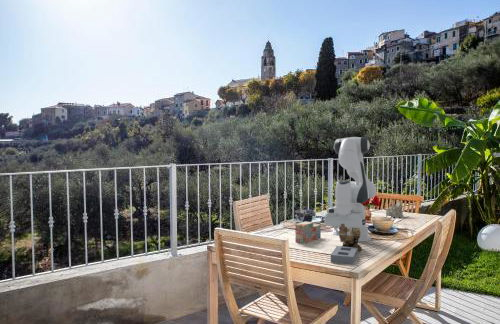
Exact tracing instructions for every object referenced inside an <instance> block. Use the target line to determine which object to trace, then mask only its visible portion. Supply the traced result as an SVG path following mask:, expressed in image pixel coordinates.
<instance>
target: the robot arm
mask: <svg viewBox="0 0 500 324" xmlns="http://www.w3.org/2000/svg"><path fill="white" fill-rule="evenodd" d="M370 147H371V145H370V141H369V138H367V137H366V136H361V137H359V136H350V137H343V138H341V137H340V138H337V139H335V141H334V144H333V150H334V152H335V154H336V155H338V163H339V165H340V166H341V167H342V168H344V169H345V170H346V173H347V175H348V176H349V177H350V178H352V179H353V180H354V181H353V180H352V181H351V180H347V179H339V180H337V181H336V184H335V188H333V189H334V191H333V193H334V194H333V198H334V199H335V202H334V206H331V207H328V208H327V209H326V214H325V216H324V224H323V225H325V226H327V227H333V229H334V230H335V234H336V235H338V236H339V229H338V228H339V227H341V224H345V227H347V228H349V229H350V231H351V230H352V228H359V229H360V233H361V234H360V238H359V239H358V243H359V242H370V241H372V238H371V236H370V234H369V228H368V226H367V220H366V207H365V206H364V204H365V203H366V202H368V200H369V199H373V198H374V197H375V196H376V195H377V192H378V191H377V187H376V185H375V184H374V183H373V182H372V181H371V180H370V179H369V178H368V176H367V175H366V173H365V165H364V163H365V162H364V154H366V153H368V152H369V150H370ZM350 231H349V232H347V235H348V236H350Z"/></svg>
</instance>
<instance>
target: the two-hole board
mask: <svg viewBox="0 0 500 324" xmlns="http://www.w3.org/2000/svg"><path fill="white" fill-rule="evenodd" d="M358 253H359V252H358V248H354V247H343V246H342V245H341V246H339V245H336V246H335V248H334V249H333V251H332V252H331V254H330V263H337V264H345V265H354V263H355V262H356V259H357V257H358Z"/></svg>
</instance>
